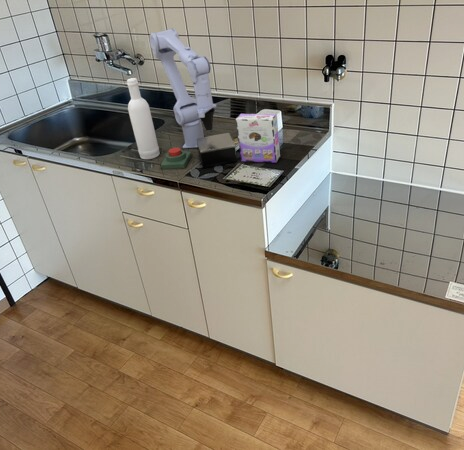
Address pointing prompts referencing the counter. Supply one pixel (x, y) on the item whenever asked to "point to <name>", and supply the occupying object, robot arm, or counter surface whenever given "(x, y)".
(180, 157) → the green base
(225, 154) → the black boxy piece
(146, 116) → the bottle
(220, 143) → the canister lid
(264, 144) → the candy box
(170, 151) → the timer button
